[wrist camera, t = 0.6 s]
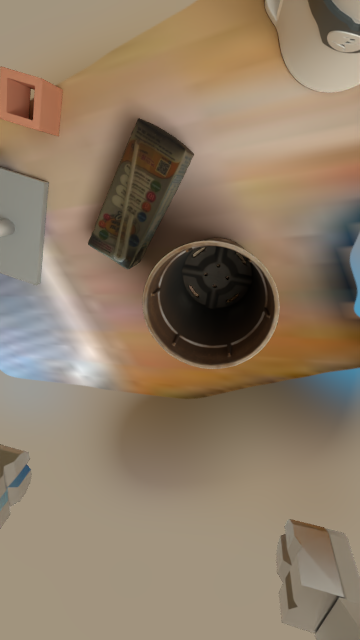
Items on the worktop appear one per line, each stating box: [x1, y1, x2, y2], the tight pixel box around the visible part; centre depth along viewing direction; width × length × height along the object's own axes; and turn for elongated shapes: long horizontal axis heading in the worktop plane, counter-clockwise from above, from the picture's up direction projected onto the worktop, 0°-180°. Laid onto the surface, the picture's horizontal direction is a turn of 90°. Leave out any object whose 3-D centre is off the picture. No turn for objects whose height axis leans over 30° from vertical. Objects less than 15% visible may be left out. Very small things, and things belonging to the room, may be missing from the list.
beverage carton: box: [88, 118, 194, 269], centre depth 46 cm, size 8×19×7 cm, turn 150°
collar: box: [0, 67, 63, 136], centre depth 44 cm, size 6×6×5 cm
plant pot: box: [143, 238, 279, 369], centre depth 44 cm, size 16×16×16 cm
